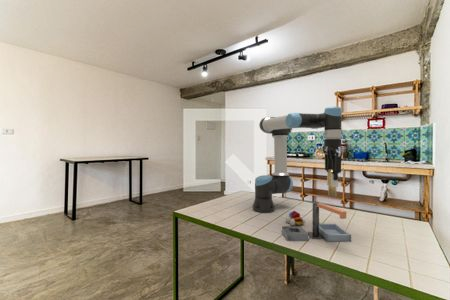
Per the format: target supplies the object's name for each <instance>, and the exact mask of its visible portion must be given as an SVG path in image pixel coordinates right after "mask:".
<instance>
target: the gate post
mask: <svg viewBox="0 0 450 300" xmlns="http://www.w3.org/2000/svg"><path fill="white" fill-rule="evenodd" d="M319 224H320V207H317V206H313V205H312V227H311V228H312V230H311V231H306V232H307V233H308V237H309V238H311V240H325V237H324V236H323V235H322V234H321V233H320V232H319Z"/></svg>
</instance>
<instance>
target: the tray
mask: <svg viewBox="0 0 450 300" xmlns="http://www.w3.org/2000/svg"><path fill="white" fill-rule="evenodd" d="M319 232H320V233H321V234H322V235H323V236H324V237H325V239H324V240H325V241H326V242H327V243H331V242H333V243H339V242H340V243H341V242H343V243H346V242H348V243H350V242H352V234H351V233H349V232H348V231H346V230H345V229H344V228H342V227H341V226H340V225H339V224H337V223H319Z"/></svg>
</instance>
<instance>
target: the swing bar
mask: <svg viewBox="0 0 450 300" xmlns="http://www.w3.org/2000/svg"><path fill="white" fill-rule="evenodd" d="M313 206H317V207H319V209H323V210H325V211H328V212H332V213H334V214H337V215H339V219H341V220H344V219H347V211H346V210H343V209H340V208H337V207H334V206H331V205H328V204H325V203H323V202H319V201H312V207H313Z"/></svg>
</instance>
